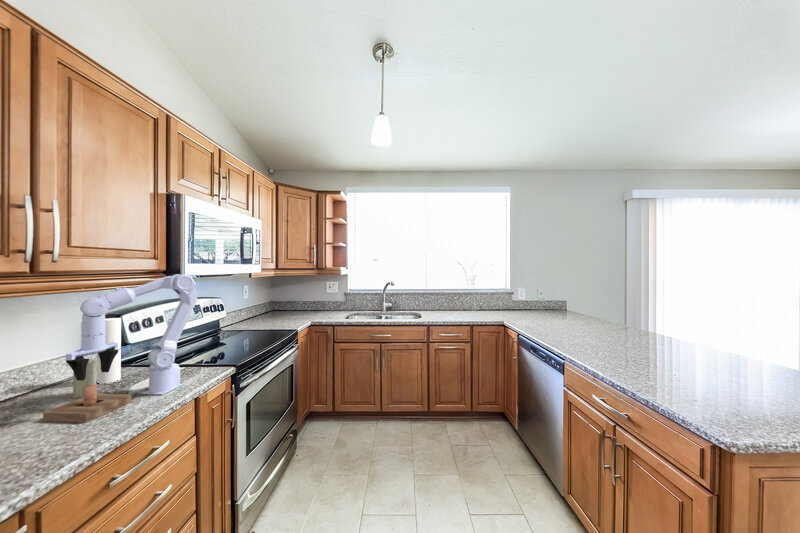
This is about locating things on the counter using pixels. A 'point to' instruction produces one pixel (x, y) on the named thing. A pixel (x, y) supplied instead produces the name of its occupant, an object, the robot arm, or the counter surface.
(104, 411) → the walnut socket plate
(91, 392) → the terracotta peg
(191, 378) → the counter surface
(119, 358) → the cylindrical container
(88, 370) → the skincare box
